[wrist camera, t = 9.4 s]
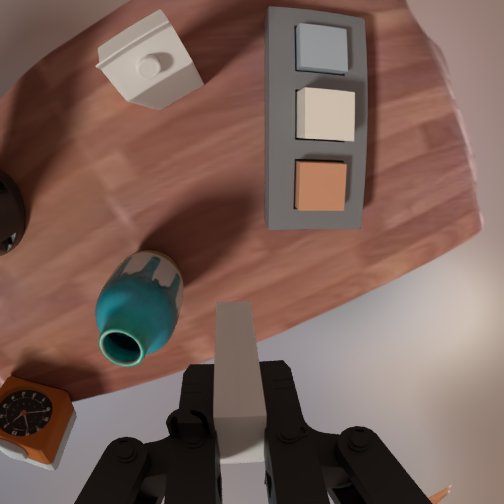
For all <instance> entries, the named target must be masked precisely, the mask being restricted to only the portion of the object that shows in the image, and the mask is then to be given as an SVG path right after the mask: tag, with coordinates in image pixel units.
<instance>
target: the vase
mask: <svg viewBox="0 0 504 504" xmlns="http://www.w3.org/2000/svg"><path fill="white" fill-rule="evenodd" d="M182 299H183V278H182V275H181V272H180V270H179V268H178V266H177V265H176V263H175V262H174V261H173V260H172V259H171V258H170V257H168V256H167V255H165V254H163V253H161V252H158V251H154V250H143V251H139V252H136V253H134V254H132V255H130V256H129V257H127V258H126V259H125V260H124V261H123V262H122V263H121V264H120V265H119V266H118V267H117V268H116V269H115V271H114V272H113V273H112V275H111V276H110V278H109V279H108V281H107V282H106V284H105V285H104V287H103V289H102V291H101V293H100V295H99V298H98V300H97V304H96V309H95V316H96V323H97V326H98V328H99V331H100V332H101V334H100V337H99V346H100V349H101V351H102V353H103V354H104V356H105V357H106V358H107V359H108V360H110V361H111V362H113V363H115V364H117V365H120V366H124V367H132V366H136V365H138V364H139V363H141V362H142V361H143V359H144V358H145V355H147V354H151V353H153V352H156V351H157V350H159V349H160V348H162V347H163V346H164V345H165V344H166V343H167V342H168V340H169V339H170V337H171V336H172V333H173V331H174V329H175V326H176V324H177V321H178V317H179V313H180V309H181V305H182Z"/></svg>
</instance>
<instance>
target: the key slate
mask: <svg viewBox="0 0 504 504" xmlns="http://www.w3.org/2000/svg"><path fill="white" fill-rule="evenodd" d="M294 37H295V71H298V72H311V73H322V74H331V75H341V74H344V73H346V72H348V55H347V32H346V29H341V28H335V27H328V26H321V25H312V24H303V23H299V25H298V26H297V28H296V29H295V30H294Z"/></svg>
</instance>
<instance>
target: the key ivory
mask: <svg viewBox="0 0 504 504" xmlns="http://www.w3.org/2000/svg"><path fill="white" fill-rule="evenodd" d="M354 126H355V92H348V91H340V90H330V89H319V88H307V87H305V88H303V89H301V90H299V91H298V92H296V93H295V138H306V139H326V140H342V141H354Z"/></svg>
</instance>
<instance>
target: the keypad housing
mask: <svg viewBox="0 0 504 504" xmlns="http://www.w3.org/2000/svg"><path fill="white" fill-rule="evenodd" d="M299 23H303V24H312V25H321V26H328V27H335V28H341V29H346V32H347V55H348V72H346V73H344V74H341V75H331V74H322V73H311V72H298V71H295V37H294V30H295V29H296V28H297V26H298V25H299ZM264 37H265V202H264V220H265V222H266V225H267V227H268V230H287V229H361V222H362V211H363V200H364V186H365V171H366V151H367V116H368V85H367V51H366V32H365V19H363V18H358V17H353V16H348V15H342V14H336V13H330V12H323V11H316V10H307V9H298V8H287V7H272V6H269V7H268V10H267V12H266V15H265V18H264ZM305 87H307V88H319V89H330V90H340V91H348V92H355V126H354V141H342V140H333V141H322V140H300V139H295V93H296V92H298V91H299V90H301V89H303V88H305ZM295 159H319V160H334V161H338V162H341V163H344V164H347V169H346V188H345V203H344V211H299V210H298V209H297V208H296V207H295V206H294V168H295Z"/></svg>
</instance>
